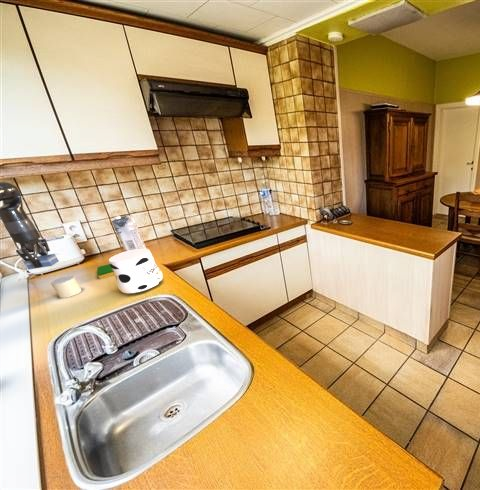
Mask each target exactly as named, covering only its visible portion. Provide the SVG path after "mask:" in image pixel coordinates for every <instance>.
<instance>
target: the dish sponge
mask: <svg viewBox="0 0 480 490" xmlns="http://www.w3.org/2000/svg"><path fill="white" fill-rule="evenodd" d="M96 268H97V269H96V271H97V277H98V278H99V279H100V280H101V279H103V278H107V277H110V276H113V275H114V276H115V274H114V272H113V270H112V268H111V266H110V263H108V264H105V265H101V266H97V267H96Z"/></svg>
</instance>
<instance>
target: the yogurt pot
mask: <svg viewBox="0 0 480 490" xmlns="http://www.w3.org/2000/svg"><path fill="white" fill-rule="evenodd" d="M50 285H51V286H52V288H53V290H54V291H55V292H56V295H57V296H58V297H59V299H64V298H65V299H66V298H69V297H72V296H75V295H77V294H79V293H81V292H82V288H81V286H80V285H79V283H78V281H77V279H76V278H75V276H74V275H66V276H62V277H59V278H56V279H54V280H53V281H51V282H50Z"/></svg>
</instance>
